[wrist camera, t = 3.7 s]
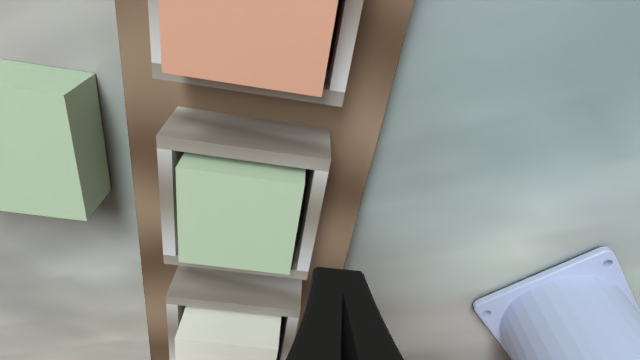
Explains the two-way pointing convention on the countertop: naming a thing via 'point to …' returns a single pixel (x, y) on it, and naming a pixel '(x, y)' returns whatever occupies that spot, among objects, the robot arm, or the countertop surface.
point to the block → (51, 142)
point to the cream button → (226, 335)
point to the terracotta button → (249, 42)
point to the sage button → (237, 212)
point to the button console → (254, 159)
